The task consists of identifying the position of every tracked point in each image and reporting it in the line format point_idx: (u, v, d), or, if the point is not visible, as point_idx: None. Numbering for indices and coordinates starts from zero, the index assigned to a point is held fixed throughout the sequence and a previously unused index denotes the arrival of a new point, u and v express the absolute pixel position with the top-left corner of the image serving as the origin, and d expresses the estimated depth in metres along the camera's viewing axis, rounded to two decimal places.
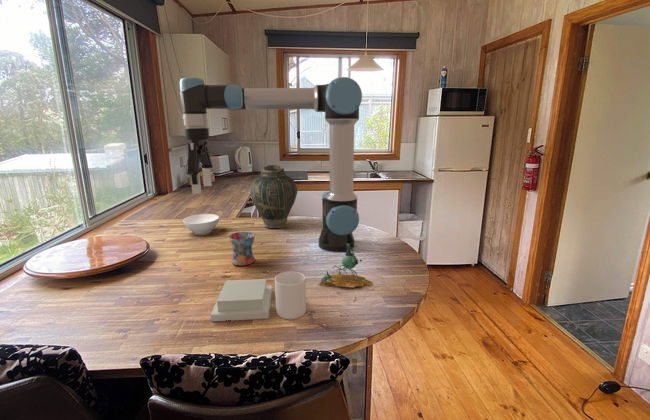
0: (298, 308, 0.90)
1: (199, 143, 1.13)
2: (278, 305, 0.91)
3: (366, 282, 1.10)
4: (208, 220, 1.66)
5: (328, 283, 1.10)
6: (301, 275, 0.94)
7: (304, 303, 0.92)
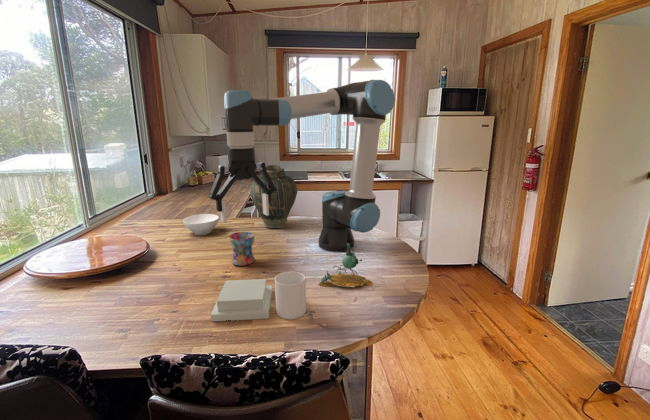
0: (298, 308, 0.90)
1: (236, 166, 0.97)
2: (278, 305, 0.91)
3: (366, 282, 1.10)
4: (208, 220, 1.66)
5: (328, 283, 1.10)
6: (301, 275, 0.94)
7: (304, 303, 0.92)
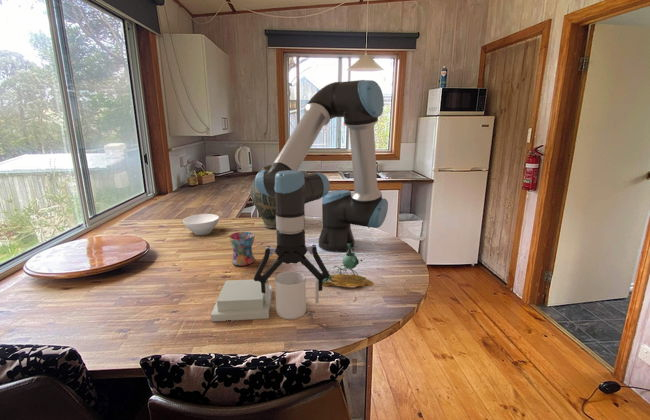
0: (298, 308, 0.90)
1: (283, 249, 0.90)
2: (278, 305, 0.91)
3: (367, 282, 1.10)
4: (208, 220, 1.66)
5: (329, 283, 1.10)
6: (301, 275, 0.94)
7: (304, 303, 0.92)
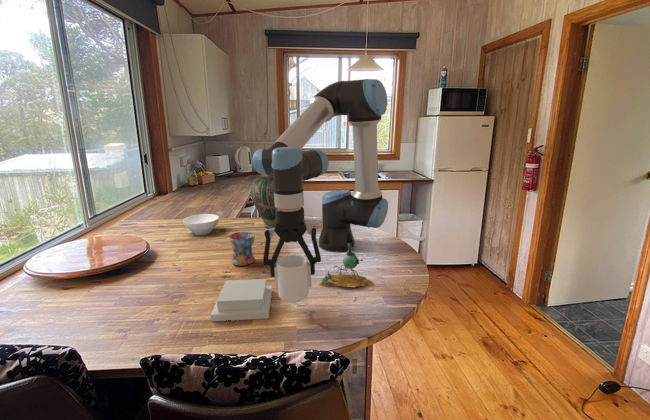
0: (301, 291, 0.90)
1: (281, 227, 0.89)
2: (280, 289, 0.90)
3: (367, 282, 1.10)
4: (208, 220, 1.66)
5: (329, 283, 1.10)
6: (303, 258, 0.94)
7: (307, 286, 0.92)
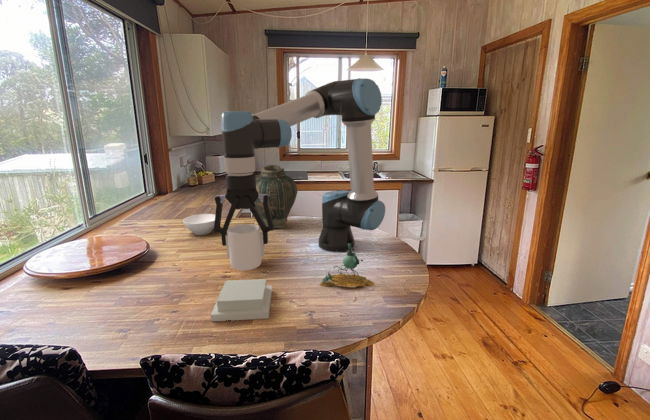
0: (251, 258, 0.88)
1: (232, 193, 0.88)
2: (231, 256, 0.89)
3: (367, 282, 1.10)
4: (208, 220, 1.66)
5: (329, 283, 1.10)
6: (256, 227, 0.92)
7: (258, 254, 0.90)
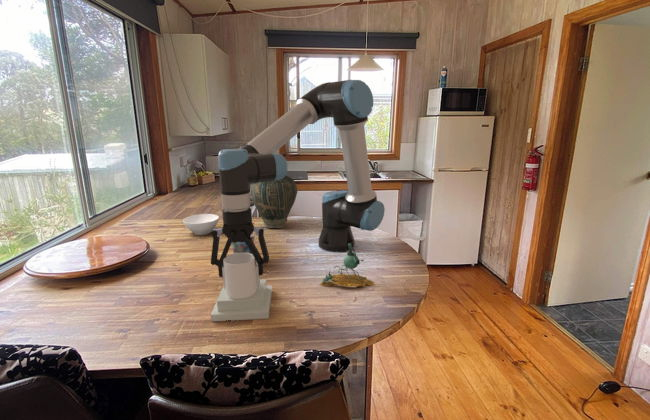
0: (246, 288, 0.91)
1: (228, 227, 0.90)
2: (226, 285, 0.91)
3: (368, 282, 1.10)
4: (208, 220, 1.66)
5: (330, 283, 1.10)
6: (251, 256, 0.95)
7: (253, 283, 0.93)
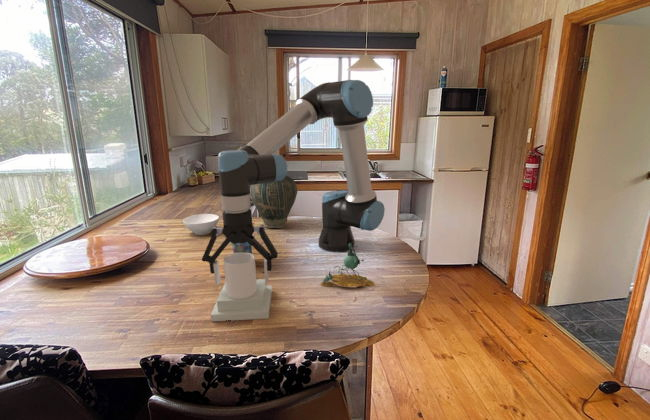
0: (246, 288, 0.91)
1: (229, 229, 0.91)
2: (226, 285, 0.91)
3: (368, 282, 1.10)
4: (208, 220, 1.66)
5: (330, 283, 1.10)
6: (251, 256, 0.95)
7: (253, 283, 0.93)
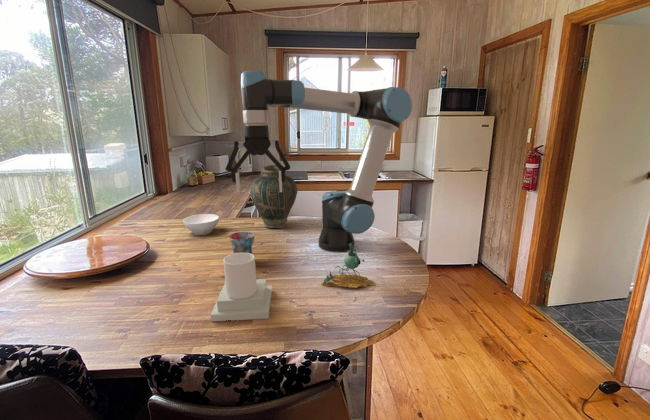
0: (246, 288, 0.91)
1: (249, 141, 1.06)
2: (226, 285, 0.91)
3: (369, 282, 1.10)
4: (208, 220, 1.66)
5: (331, 283, 1.10)
6: (251, 256, 0.95)
7: (253, 283, 0.93)
